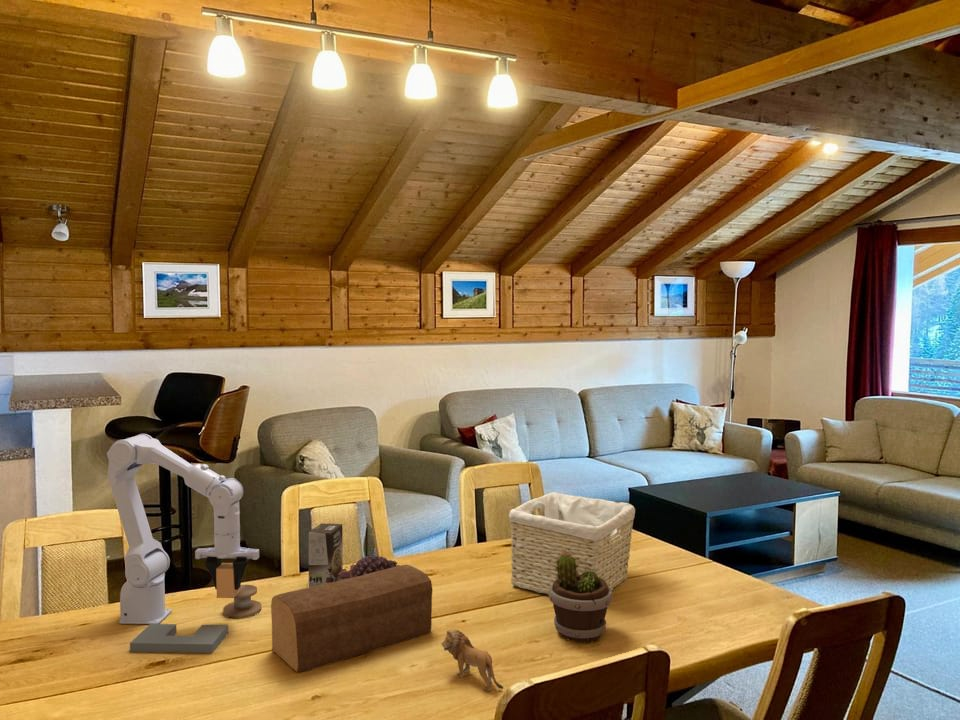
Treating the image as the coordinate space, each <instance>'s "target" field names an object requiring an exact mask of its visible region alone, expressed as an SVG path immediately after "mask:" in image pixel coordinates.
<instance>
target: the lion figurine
mask: <svg viewBox="0 0 960 720" xmlns="http://www.w3.org/2000/svg"><path fill="white" fill-rule="evenodd" d="M441 646H442V647H443V651H448V652H449V654H450V655H452V658H453V659H454V660H456V661H457V667H458V670H459V672H458V673H456V674H455V675H456V678H463V677H464V675H465V673H469V672H470V669H471V667H474V668H475V667H476V668H477V670H478V673H479V677H481V678H482V680H483V681H484V684H485V685H486V686H484V692H486V693H488V692H489V691H491V689H492V685H491V682H492V681H493V683H494V684H495V687H497V688H498V689H499V690H500V689H501V690H503V689H504V686H503V685H501V684H500V683H499V682H498V681H497V680H496V677H495V674H494V673H495V672H494V669H493V658H492V656H491V654H490V653H489V652H488V651H486V650H481V649H479V648H477V647H476V646H473V645H472V643H471V639H469V638H468V636H467V635H466V634H465V633H463V632H462V631H460V630H457V629H454V628H451V629H448V630H446V635H445V639H444V640H443V641H442V642H441ZM464 665H465V666H464Z"/></svg>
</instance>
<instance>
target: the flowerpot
mask: <svg viewBox="0 0 960 720" xmlns="http://www.w3.org/2000/svg"><path fill="white" fill-rule="evenodd" d="M565 550H566V549H565ZM561 552H562V551H561ZM565 552H566V551H565ZM571 552H572V551H571ZM571 552H570V553H569V552H567V553H564V552H563V553H562V556H560V555H559V556H560V558H559V560H557V562H556V561H555V562H556V563H557V564H556V565H557V567H555V569H554V570H555V571H558V572H557V573H558V575H557V574H555V575H556V577H555V578H558V579H556V580H555V581H554V583H553V584H552V585H551V586H550V588H549V594H548V599H549V601H550V602H551V603H552V606H553V610H554V614H555V616H554V618H553V623H554V628H555V629H556V631H557V632H558V635H559V636H561V637H562V638H564V639H566V640H568V641H571V642H576V643H577V642H581V643H586V642H588V641H589V642H593V641H594V642H595V641H596V640H598V639H600V637H601V636H602V634H604V632H605V630H606V626H607V620H606V619H605V618H606V615H607V611H608V607H609V606H610V605H611V604H612V603H613V590H611V588H610V587H608V585H607V583H606V582H605V580H604V579H602V578H599V577H598V576H597V574H596V573H595V572H596V571H595V569H592V570H594V571H595V572H593V571H592V570H591V569H589V571H586V570H585V572H584V573H582V574H581V575H577V574H578V573H579V572H578V570H577V571H576V568H577V567H578V565H577V564H576V561H575V560H577V559H576V558H575V559H574V557H572V556H570V555H572V554H571ZM567 554H568V555H567ZM559 556H557V557H559ZM579 566H580V565H579ZM591 567H592V566H591ZM591 567H590V568H591ZM556 568H557V569H556ZM588 568H589V567H588ZM588 568H587V569H588ZM583 571H584V570H583Z"/></svg>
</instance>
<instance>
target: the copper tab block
mask: <svg viewBox="0 0 960 720" xmlns="http://www.w3.org/2000/svg"><path fill="white" fill-rule="evenodd" d="M234 582H235V576H234V568H233V562H222V564H221V565H220V566H219V567H217V568H216V583H217V590H216V599H217V598H218V599H234V597H235V596H236V595H237V594H238V593H239V589H238V590H235V585H234Z"/></svg>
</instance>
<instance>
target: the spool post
mask: <svg viewBox="0 0 960 720" xmlns="http://www.w3.org/2000/svg"><path fill="white" fill-rule="evenodd" d="M257 593H258V588H257V586H255V585H252V584H241V586H240V588H239V593H238V594H237V595H236V596H235V597H234V598H233V601H231V602H229V603H227V604H226V605H224V606H223V608H222V610H223V612H222V613H224V614H223V616H225V617H226V616H228V617H227V618H230V617H232V618H231V619H245V617H246V618H250V617H252V616H255V614H256V615H257V613H258V614H259V613H260V612H261V611H262V603H261V602H260V601H257V600H254V599H252V596H255V595H256V594H257Z"/></svg>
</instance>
